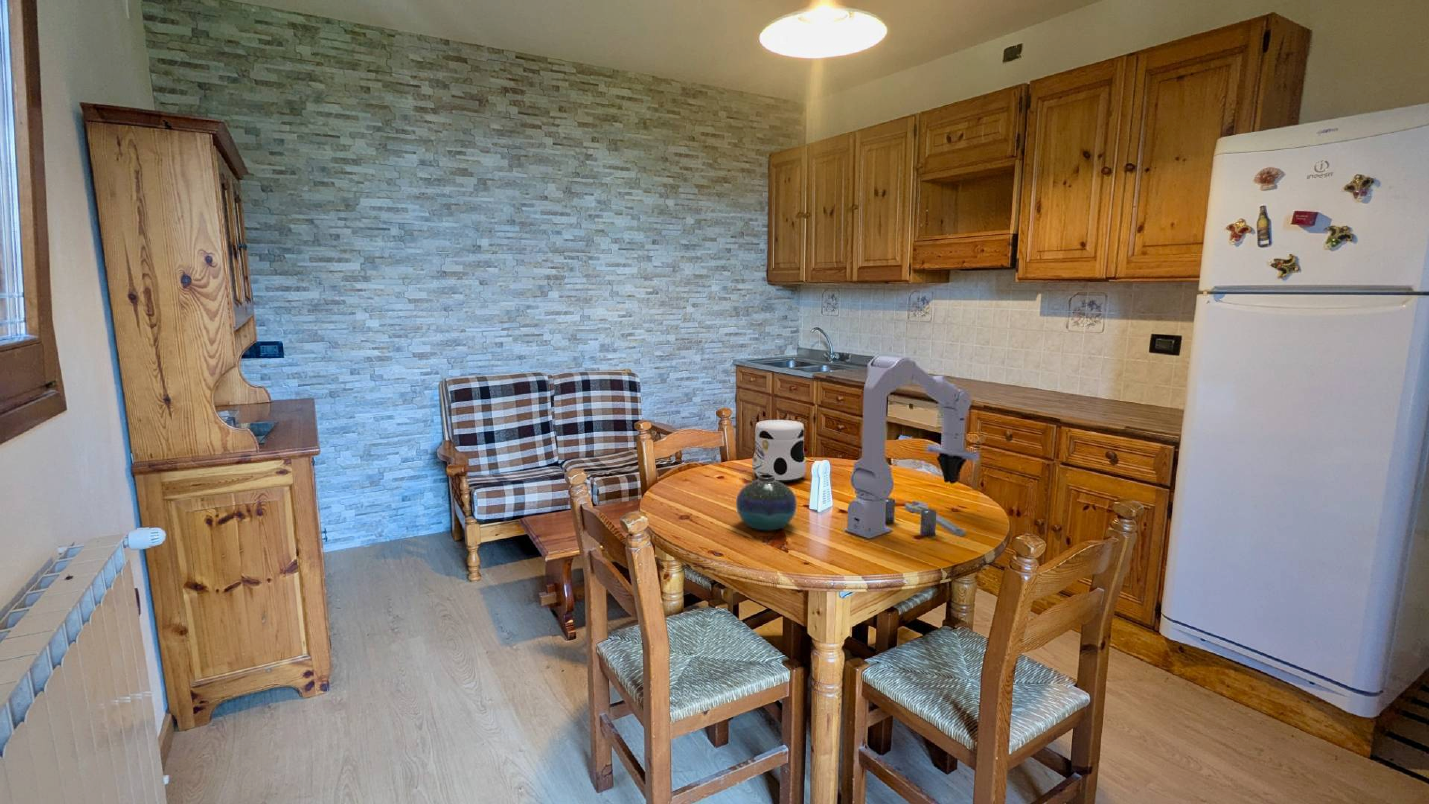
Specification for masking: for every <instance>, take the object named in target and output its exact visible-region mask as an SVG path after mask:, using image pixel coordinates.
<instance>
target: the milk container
mask: <svg viewBox="0 0 1429 804" xmlns="http://www.w3.org/2000/svg"><path fill="white" fill-rule="evenodd" d="M754 432H755V434H754V435H755V436H754V439H755V440H754V442H755V444H754V445H755V446H754V447H755V450H754V454H753V457H752V462H751V463H752V472H753V474H754V475H755V477H756V478H757V479H758V478H759V475H762V474H770V475H773V476H774V477H775V480H777V481H779V482H781V483H790V482H794V481H795V482H796V481H798V480H800V479H802V478H803V477H804V476H805V474H806V471H807V460H806V455H805V450H804V449H805V448H804V447H805V446H804V445H805V436H804V434H805V427H804V423H802V422H801V421H795V420H789V419H768V420H761V421H758V422H756V424H755V431H754Z"/></svg>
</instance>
